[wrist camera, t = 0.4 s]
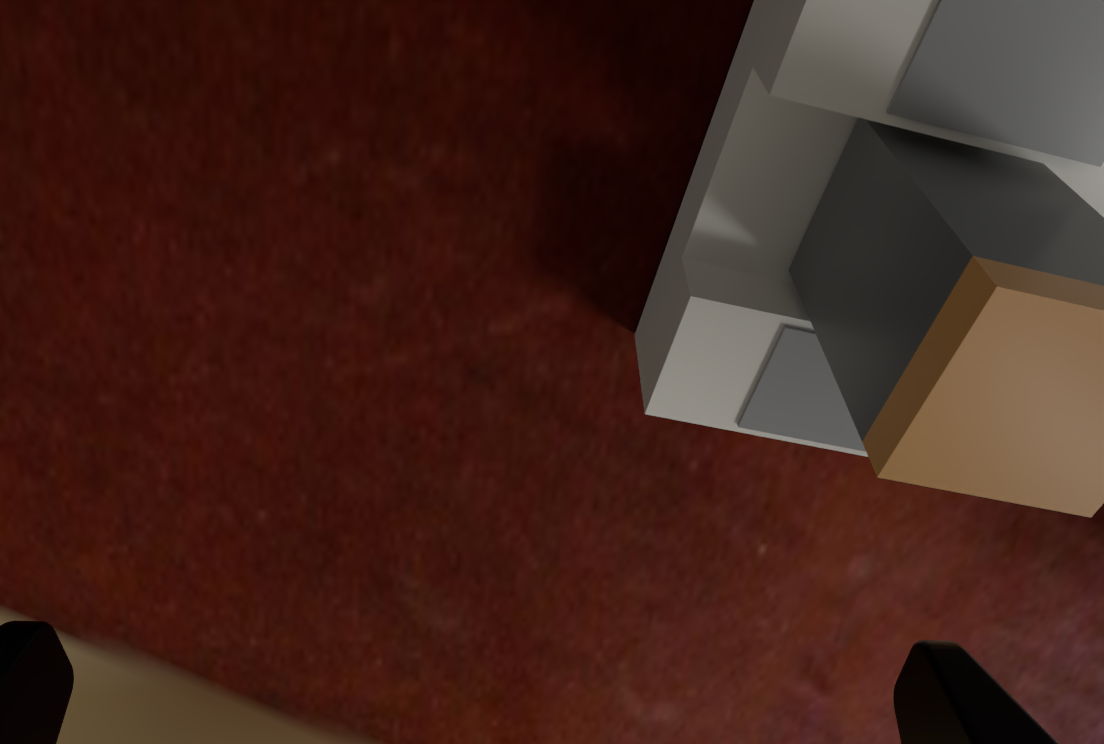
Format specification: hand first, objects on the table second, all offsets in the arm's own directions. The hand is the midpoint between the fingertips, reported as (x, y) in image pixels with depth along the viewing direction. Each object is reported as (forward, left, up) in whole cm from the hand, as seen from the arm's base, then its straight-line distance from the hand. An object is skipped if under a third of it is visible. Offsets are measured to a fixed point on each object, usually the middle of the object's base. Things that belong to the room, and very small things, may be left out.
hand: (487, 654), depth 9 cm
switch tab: (-7, -2, -10) cm, 13 cm away
